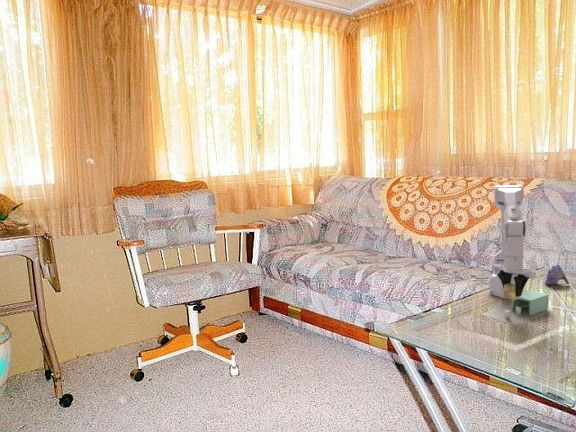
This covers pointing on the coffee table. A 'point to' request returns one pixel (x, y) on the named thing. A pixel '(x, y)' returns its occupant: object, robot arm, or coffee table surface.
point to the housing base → (513, 314)
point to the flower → (555, 275)
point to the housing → (531, 301)
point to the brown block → (510, 291)
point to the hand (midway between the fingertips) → (512, 294)
